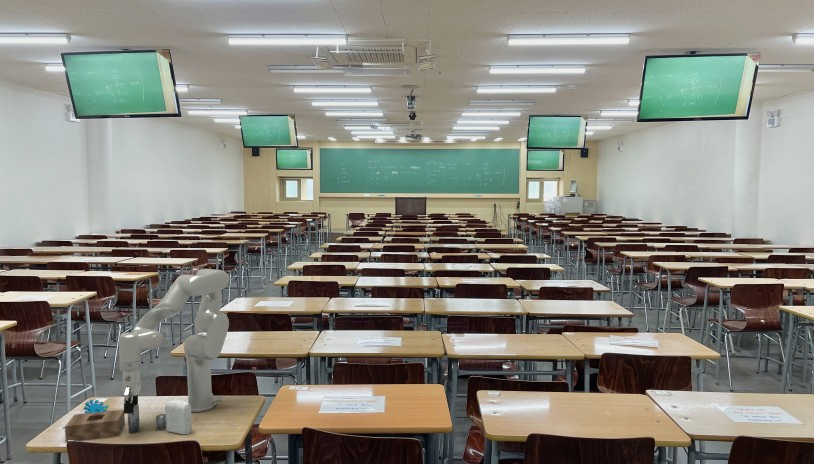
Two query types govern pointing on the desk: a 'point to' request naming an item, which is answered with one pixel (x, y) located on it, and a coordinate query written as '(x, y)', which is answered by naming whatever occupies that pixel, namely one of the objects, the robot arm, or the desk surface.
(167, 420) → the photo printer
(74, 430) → the hole block
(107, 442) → the desk surface
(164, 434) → the desk surface
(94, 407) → the gear
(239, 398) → the desk surface
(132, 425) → the long pin
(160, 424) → the short pin
